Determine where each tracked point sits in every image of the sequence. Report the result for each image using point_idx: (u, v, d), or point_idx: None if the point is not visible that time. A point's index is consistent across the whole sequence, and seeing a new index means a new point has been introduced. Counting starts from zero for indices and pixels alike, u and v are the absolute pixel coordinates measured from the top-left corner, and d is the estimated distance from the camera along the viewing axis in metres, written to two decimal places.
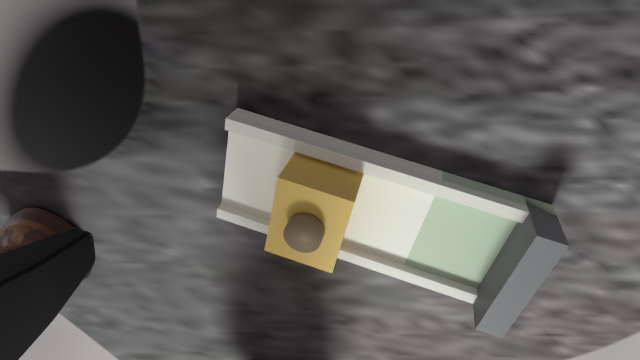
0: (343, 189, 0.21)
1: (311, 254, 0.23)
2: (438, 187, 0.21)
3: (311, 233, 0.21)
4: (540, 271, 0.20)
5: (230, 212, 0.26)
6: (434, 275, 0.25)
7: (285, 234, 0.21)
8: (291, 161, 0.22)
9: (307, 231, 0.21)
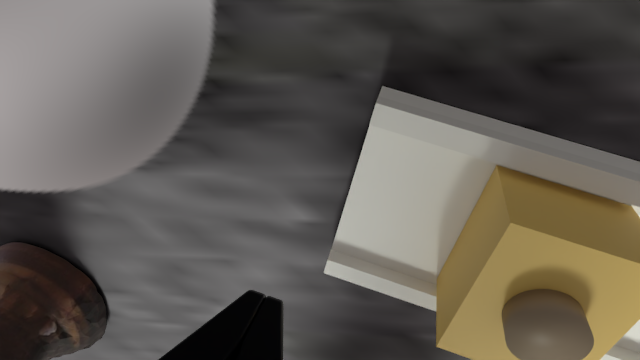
0: (636, 244, 0.10)
1: None
2: None
3: (572, 336, 0.10)
4: None
5: (350, 266, 0.15)
6: None
7: (511, 333, 0.11)
8: (506, 186, 0.12)
9: (566, 331, 0.10)
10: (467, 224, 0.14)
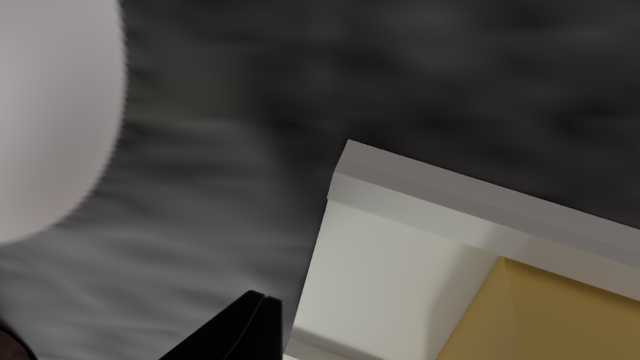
0: None
1: None
2: None
3: None
4: None
5: None
6: None
7: None
8: (517, 292, 0.08)
9: None
10: (463, 322, 0.10)
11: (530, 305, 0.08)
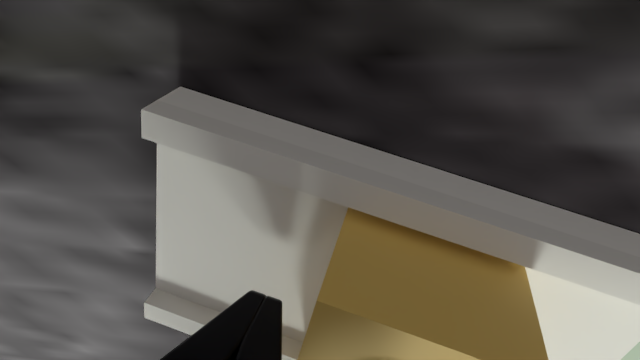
0: (503, 328, 0.07)
1: None
2: None
3: None
4: None
5: (172, 310, 0.12)
6: None
7: None
8: (345, 236, 0.08)
9: None
10: None
11: (353, 247, 0.08)
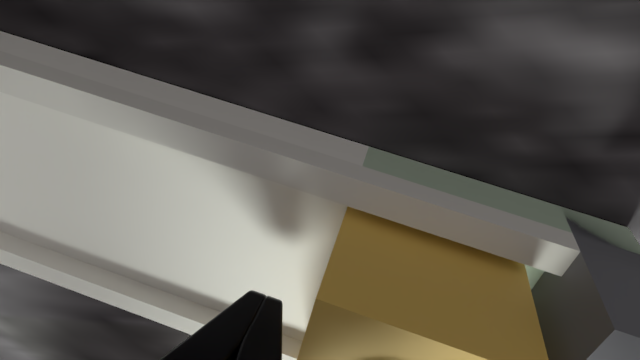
0: (502, 326, 0.07)
1: None
2: (349, 184, 0.09)
3: None
4: None
5: None
6: None
7: None
8: (345, 235, 0.09)
9: None
10: None
11: (352, 246, 0.08)
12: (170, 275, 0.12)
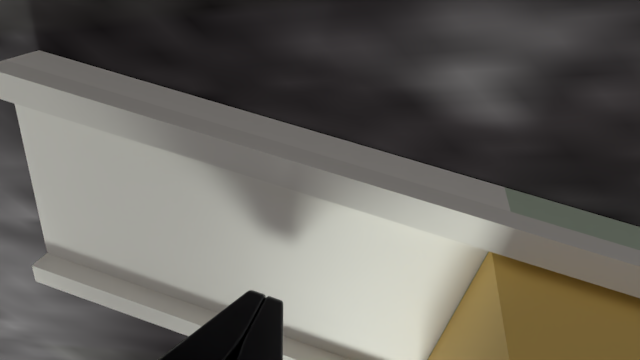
0: None
1: None
2: (504, 232, 0.08)
3: None
4: None
5: (58, 273, 0.13)
6: None
7: None
8: (504, 287, 0.08)
9: None
10: (454, 319, 0.10)
11: (517, 299, 0.08)
12: None
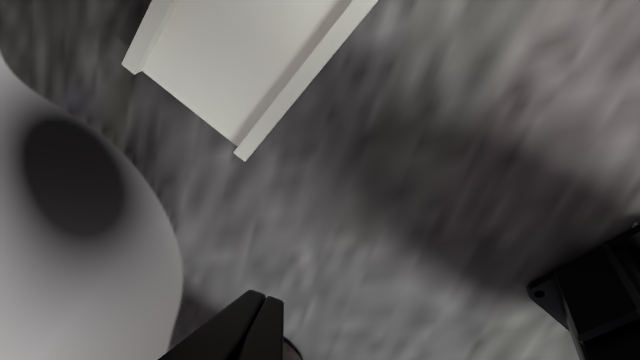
0: None
1: None
2: None
3: None
4: None
5: (243, 140, 0.19)
6: None
7: None
8: None
9: None
10: None
11: None
12: (319, 10, 0.16)
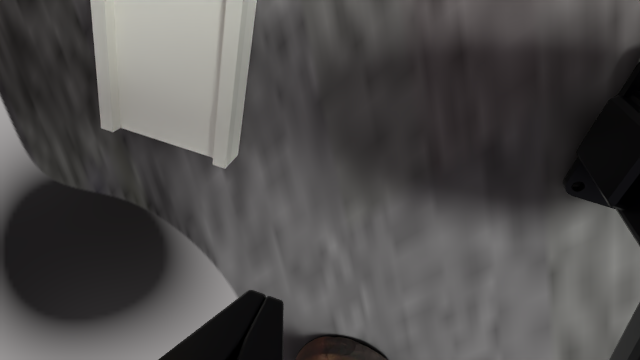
0: None
1: None
2: None
3: None
4: None
5: (214, 149, 0.21)
6: None
7: None
8: None
9: None
10: None
11: None
12: (214, 3, 0.18)
